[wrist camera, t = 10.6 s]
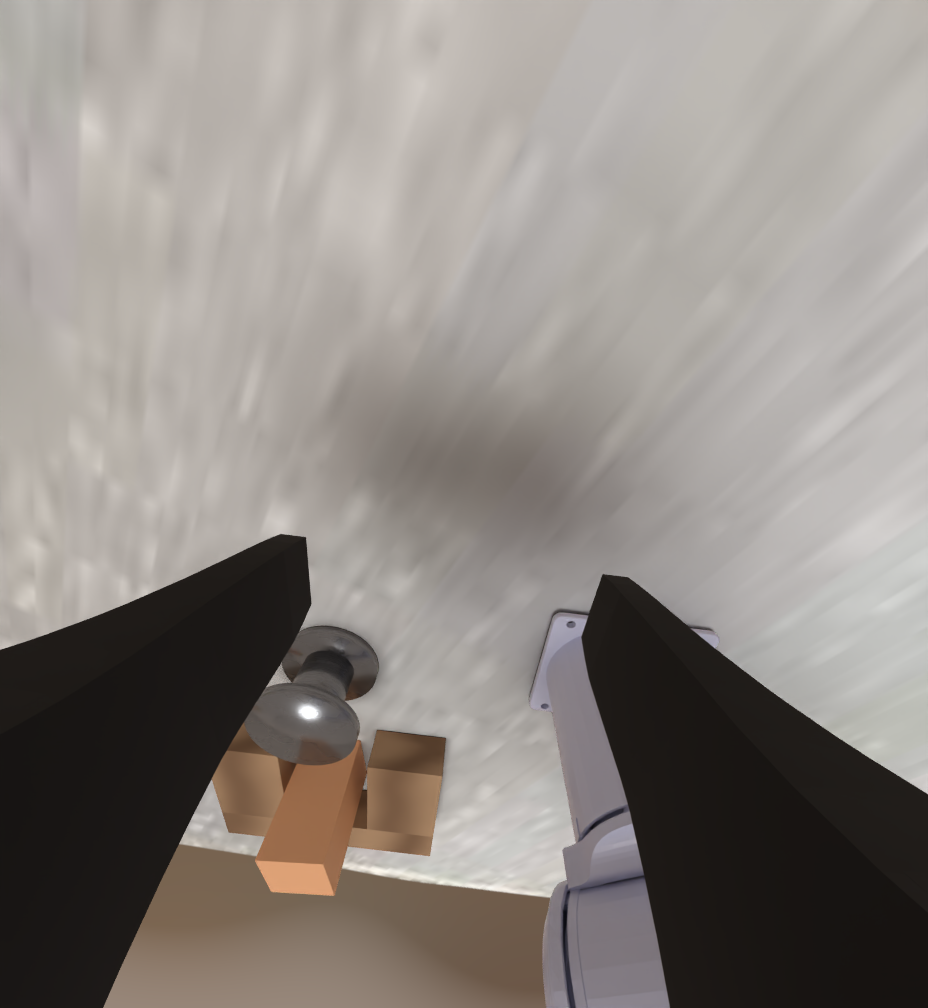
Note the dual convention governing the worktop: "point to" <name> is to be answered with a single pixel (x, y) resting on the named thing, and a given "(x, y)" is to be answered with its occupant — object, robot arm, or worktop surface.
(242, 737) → the notched board
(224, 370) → the worktop surface
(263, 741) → the doorknob
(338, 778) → the brown block
